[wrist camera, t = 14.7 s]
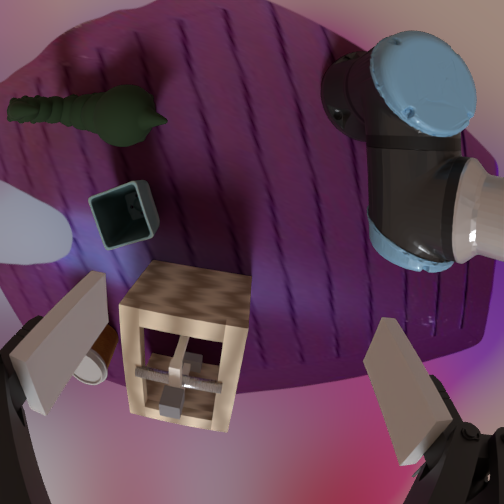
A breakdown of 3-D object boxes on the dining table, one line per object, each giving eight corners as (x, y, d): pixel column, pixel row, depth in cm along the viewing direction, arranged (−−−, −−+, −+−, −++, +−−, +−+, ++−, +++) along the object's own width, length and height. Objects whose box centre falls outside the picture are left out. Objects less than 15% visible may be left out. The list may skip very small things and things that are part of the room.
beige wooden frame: (251, 276, 56) (248, 332, 40) (233, 374, 65) (227, 436, 49) (153, 259, 55) (116, 307, 39) (152, 359, 64) (128, 416, 48)
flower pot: (111, 187, 51) (86, 198, 42) (155, 171, 50) (135, 179, 41) (127, 233, 54) (105, 251, 45) (170, 220, 53) (154, 237, 44)
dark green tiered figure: (63, 134, 49) (180, 152, 48) (-11, 142, 31) (122, 161, 30) (71, 85, 45) (193, 95, 45) (-2, 78, 28) (139, 74, 27)
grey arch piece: (206, 311, 51) (187, 388, 37) (201, 365, 57) (186, 437, 42) (177, 306, 51) (149, 379, 36) (176, 360, 57) (155, 430, 42)
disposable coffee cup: (111, 312, 60) (86, 346, 49) (132, 348, 63) (113, 384, 52) (80, 320, 61) (54, 352, 50) (101, 354, 64) (80, 388, 53)
